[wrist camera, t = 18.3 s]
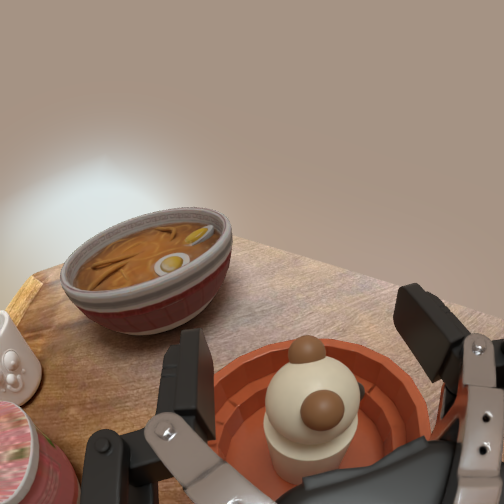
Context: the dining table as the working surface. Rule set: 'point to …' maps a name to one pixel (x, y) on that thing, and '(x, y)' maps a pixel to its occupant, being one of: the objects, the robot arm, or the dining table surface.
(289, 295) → the dining table surface
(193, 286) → the bowl
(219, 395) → the terracotta bowl
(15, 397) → the mug
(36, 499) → the container
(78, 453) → the dining table surface
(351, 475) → the robot arm
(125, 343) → the dining table surface
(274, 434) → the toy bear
